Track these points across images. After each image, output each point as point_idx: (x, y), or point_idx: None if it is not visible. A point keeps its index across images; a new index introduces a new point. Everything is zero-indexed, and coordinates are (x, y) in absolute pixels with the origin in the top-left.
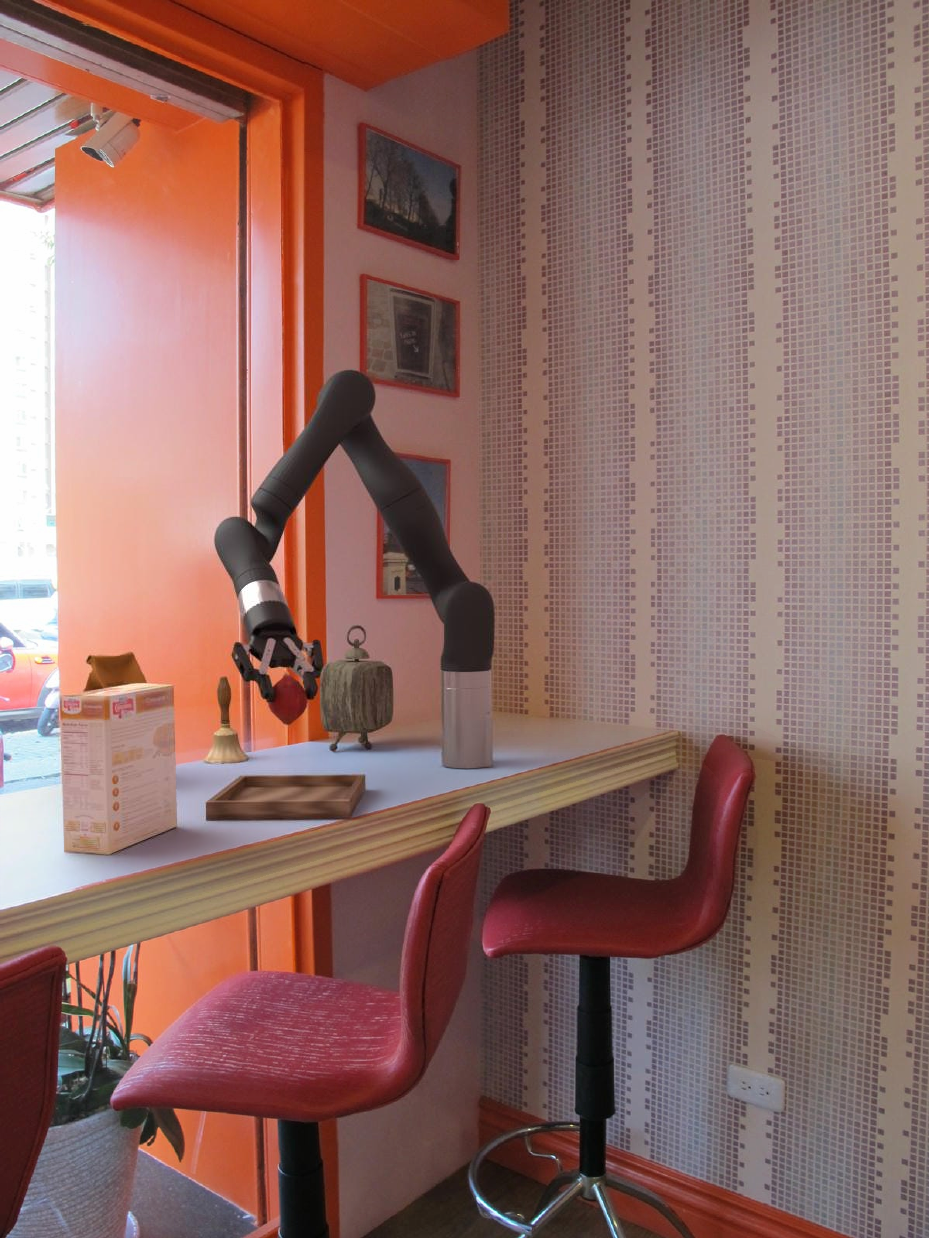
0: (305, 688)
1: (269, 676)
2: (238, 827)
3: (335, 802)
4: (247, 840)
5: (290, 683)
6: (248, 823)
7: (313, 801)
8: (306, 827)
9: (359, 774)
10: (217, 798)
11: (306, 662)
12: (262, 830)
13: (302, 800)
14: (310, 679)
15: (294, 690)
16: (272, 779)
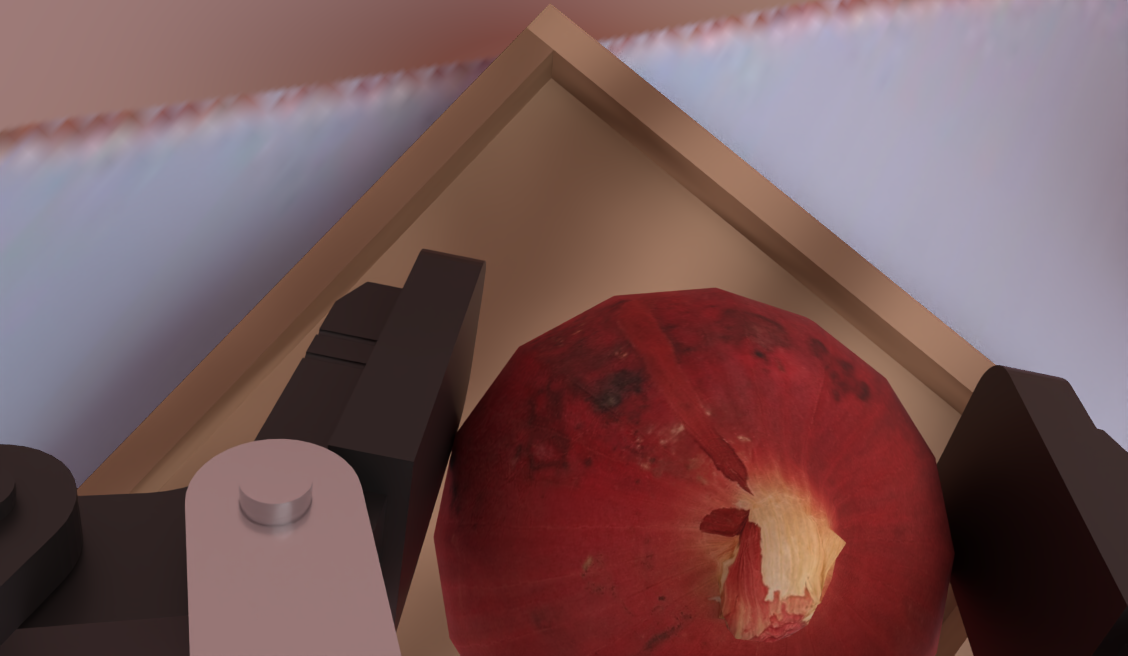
0: (431, 501)
1: (1111, 574)
2: (1005, 246)
3: (601, 47)
4: (1058, 27)
5: (773, 362)
6: (940, 283)
7: (685, 115)
8: (772, 46)
9: None
10: None
11: (234, 649)
12: (943, 127)
13: (718, 167)
14: (405, 353)
15: (729, 301)
16: None
